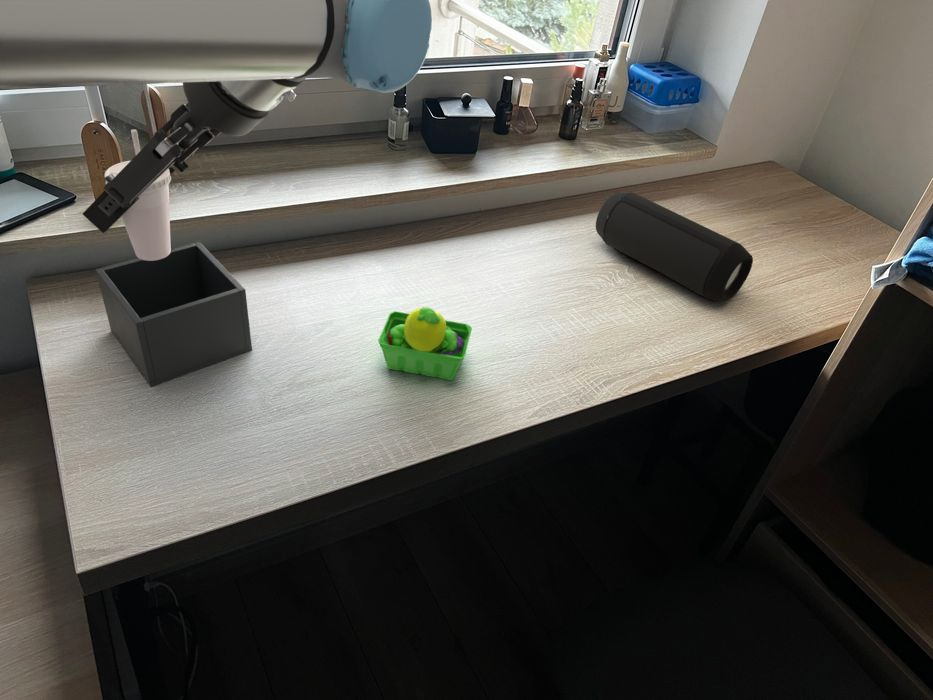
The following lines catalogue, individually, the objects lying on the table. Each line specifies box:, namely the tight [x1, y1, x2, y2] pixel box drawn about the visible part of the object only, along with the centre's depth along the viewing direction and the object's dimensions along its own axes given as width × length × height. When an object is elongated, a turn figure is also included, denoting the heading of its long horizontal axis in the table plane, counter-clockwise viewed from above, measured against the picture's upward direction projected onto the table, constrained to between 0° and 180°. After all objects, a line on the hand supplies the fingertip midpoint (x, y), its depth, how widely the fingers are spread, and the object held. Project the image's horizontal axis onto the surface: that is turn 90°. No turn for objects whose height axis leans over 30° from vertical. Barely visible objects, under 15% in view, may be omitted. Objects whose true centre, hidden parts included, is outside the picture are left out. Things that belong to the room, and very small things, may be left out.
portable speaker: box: [595, 191, 754, 302], centre depth 121 cm, size 26×10×10 cm, turn 44°
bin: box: [95, 241, 253, 388], centre depth 94 cm, size 14×14×10 cm
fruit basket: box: [378, 306, 473, 381], centre depth 94 cm, size 11×9×11 cm
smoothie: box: [104, 129, 172, 261], centre depth 77 cm, size 6×6×14 cm
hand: (114, 207), depth 79 cm, fingers closed on smoothie, 6 cm apart
